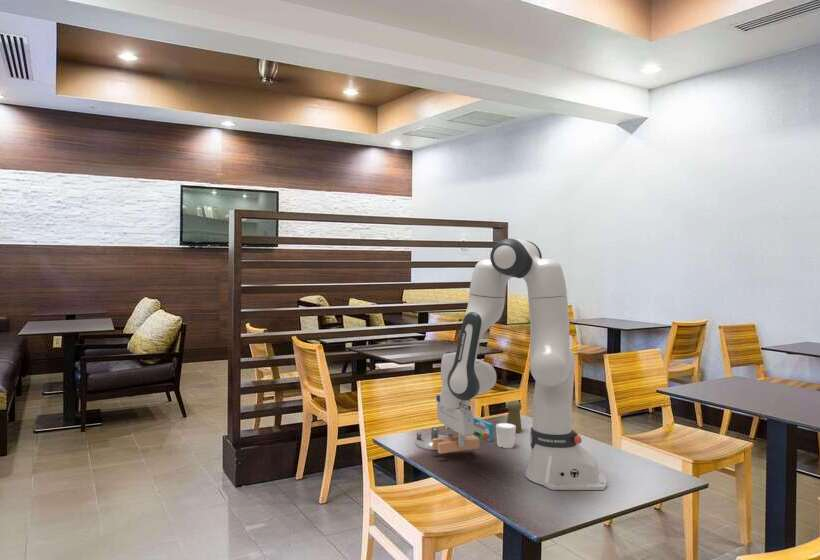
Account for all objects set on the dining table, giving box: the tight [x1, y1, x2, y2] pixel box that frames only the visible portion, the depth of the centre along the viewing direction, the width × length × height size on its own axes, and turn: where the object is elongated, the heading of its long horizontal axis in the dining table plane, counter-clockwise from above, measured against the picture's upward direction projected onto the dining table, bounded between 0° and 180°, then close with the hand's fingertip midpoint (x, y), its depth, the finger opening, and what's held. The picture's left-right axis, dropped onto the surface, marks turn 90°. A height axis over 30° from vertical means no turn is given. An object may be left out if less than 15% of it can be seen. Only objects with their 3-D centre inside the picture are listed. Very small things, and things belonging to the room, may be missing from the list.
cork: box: [506, 400, 523, 434], centre depth 209 cm, size 6×6×11 cm
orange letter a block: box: [432, 435, 480, 455], centre depth 180 cm, size 14×6×3 cm, turn 111°
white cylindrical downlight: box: [495, 422, 516, 449], centre depth 192 cm, size 7×7×7 cm
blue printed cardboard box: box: [473, 415, 494, 442], centre depth 201 cm, size 12×2×6 cm, turn 31°
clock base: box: [415, 427, 447, 451], centre depth 192 cm, size 13×13×6 cm
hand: (455, 442), depth 180 cm, fingers closed on orange letter a block, 6 cm apart
